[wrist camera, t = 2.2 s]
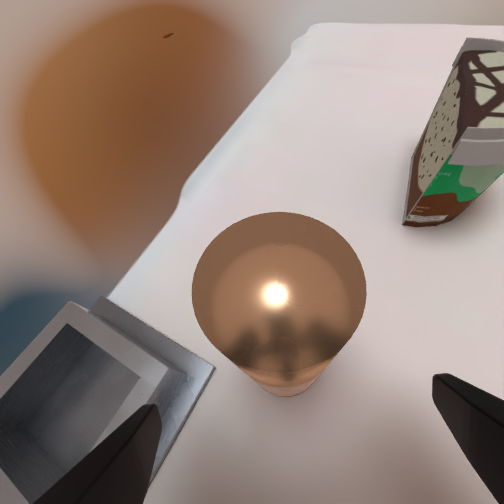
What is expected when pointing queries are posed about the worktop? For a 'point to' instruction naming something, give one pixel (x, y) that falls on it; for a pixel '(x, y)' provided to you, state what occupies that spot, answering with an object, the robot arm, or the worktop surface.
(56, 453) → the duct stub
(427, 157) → the food container
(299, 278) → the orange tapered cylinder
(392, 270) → the worktop surface
